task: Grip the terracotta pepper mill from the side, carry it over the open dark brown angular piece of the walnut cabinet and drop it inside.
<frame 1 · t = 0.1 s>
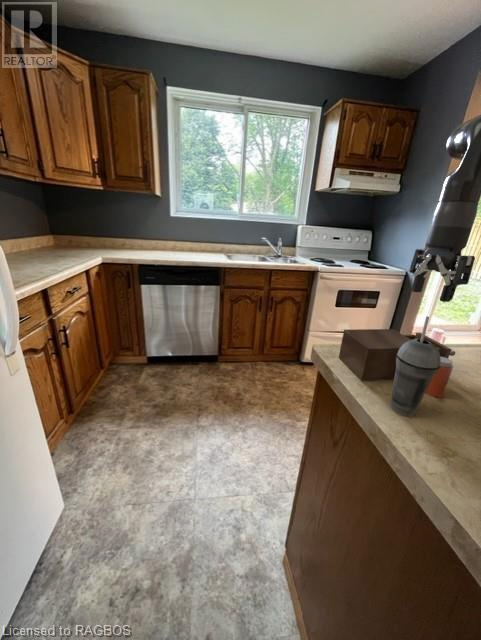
hand: (429, 296, 65), 20 cm above the countertop, tool pointing down, fingers open, 8 cm apart
dark brown angular piece: (415, 352, 72), point 4 cm above the countertop, slide at 7.0 cm
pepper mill: (432, 392, 62), on the countertop
cabinet: (374, 367, 72), on the countertop
beverage cup: (401, 410, 56), on the countertop
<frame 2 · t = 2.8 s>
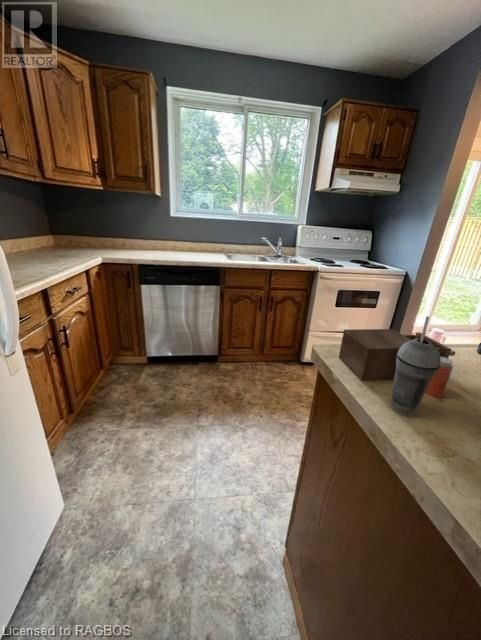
nothing on the countertop moved.
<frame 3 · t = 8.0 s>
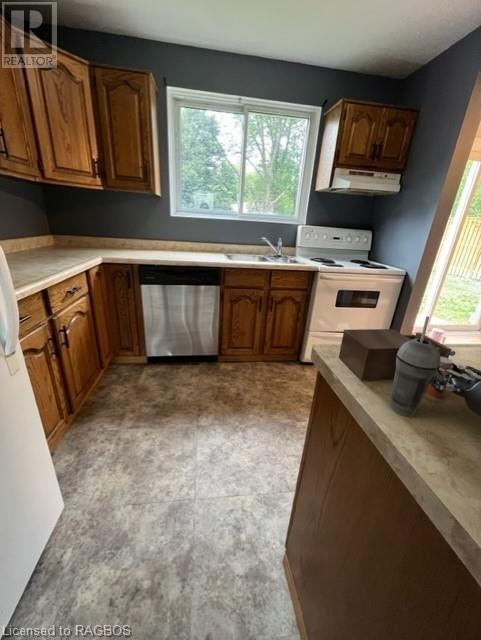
hand: (431, 361, 63), 7 cm above the countertop, tool horizontal, fingers closed on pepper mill, 4 cm apart
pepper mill: (432, 392, 62), on the countertop, touching gripper
everything else where it was.
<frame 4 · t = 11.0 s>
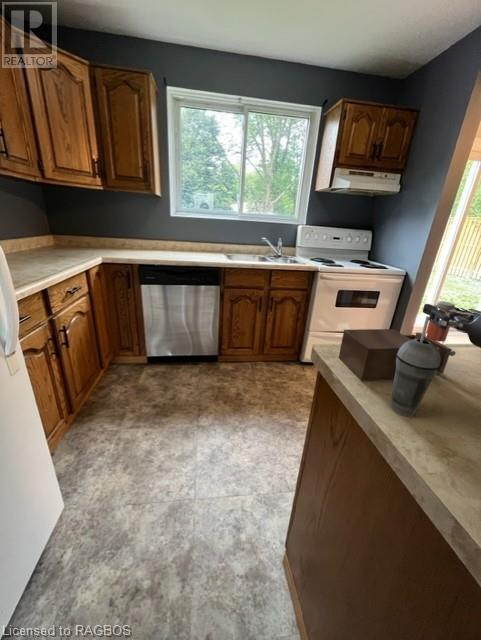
hand: (433, 307, 64), 18 cm above the countertop, tool horizontal, fingers closed on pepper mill, 4 cm apart
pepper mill: (435, 337, 63), point 11 cm above the countertop, touching gripper
everything else where it was.
when the fingers open (10 cm above the countertop, at t = 14.3 s): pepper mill drops 1 cm, resting on dark brown angular piece.
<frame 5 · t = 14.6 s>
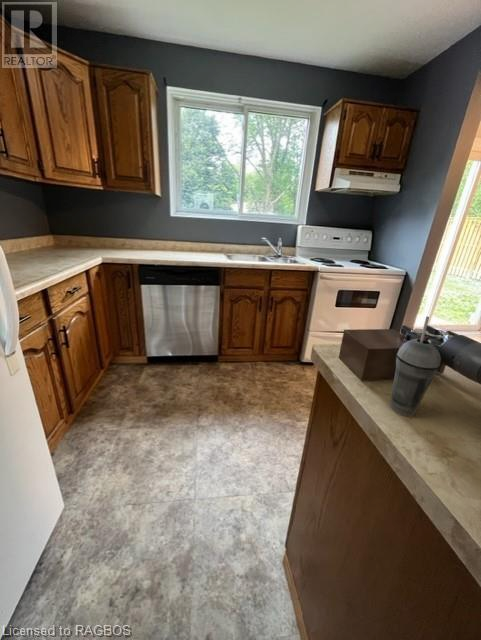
hand: (413, 328, 72), 10 cm above the countertop, tool horizontal, fingers open, 6 cm apart
dark brown angular piece: (415, 352, 72), point 4 cm above the countertop, slide at 7.0 cm, touching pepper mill
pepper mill: (412, 359, 73), point 2 cm above the countertop, touching dark brown angular piece
everything else where it was.
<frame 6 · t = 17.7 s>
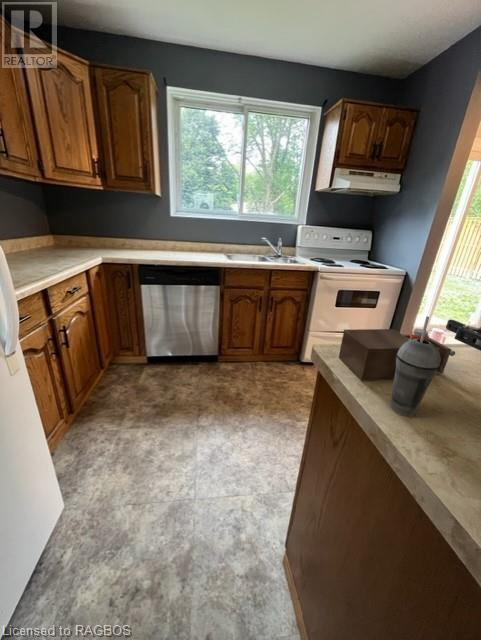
hand: (465, 323, 58), 17 cm above the countertop, tool horizontal, fingers open, 8 cm apart
nothing on the countertop moved.
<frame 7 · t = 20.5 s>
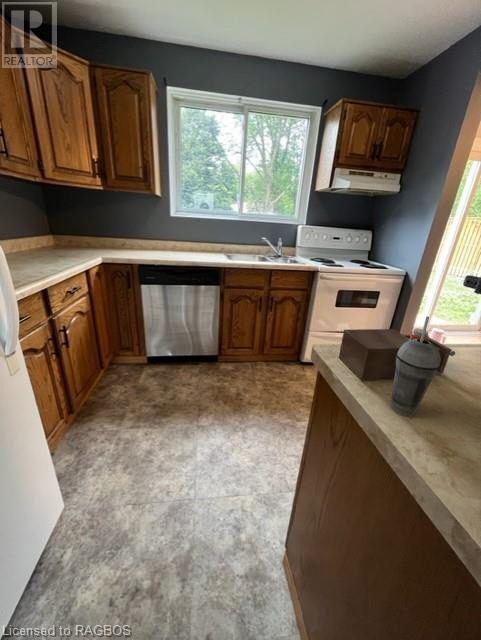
nothing on the countertop moved.
at the end: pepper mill inside the target area in the cabinet (6.1 cm from its centre), point 2.0 cm above the cabinet's base; the gripper is holding nothing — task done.
